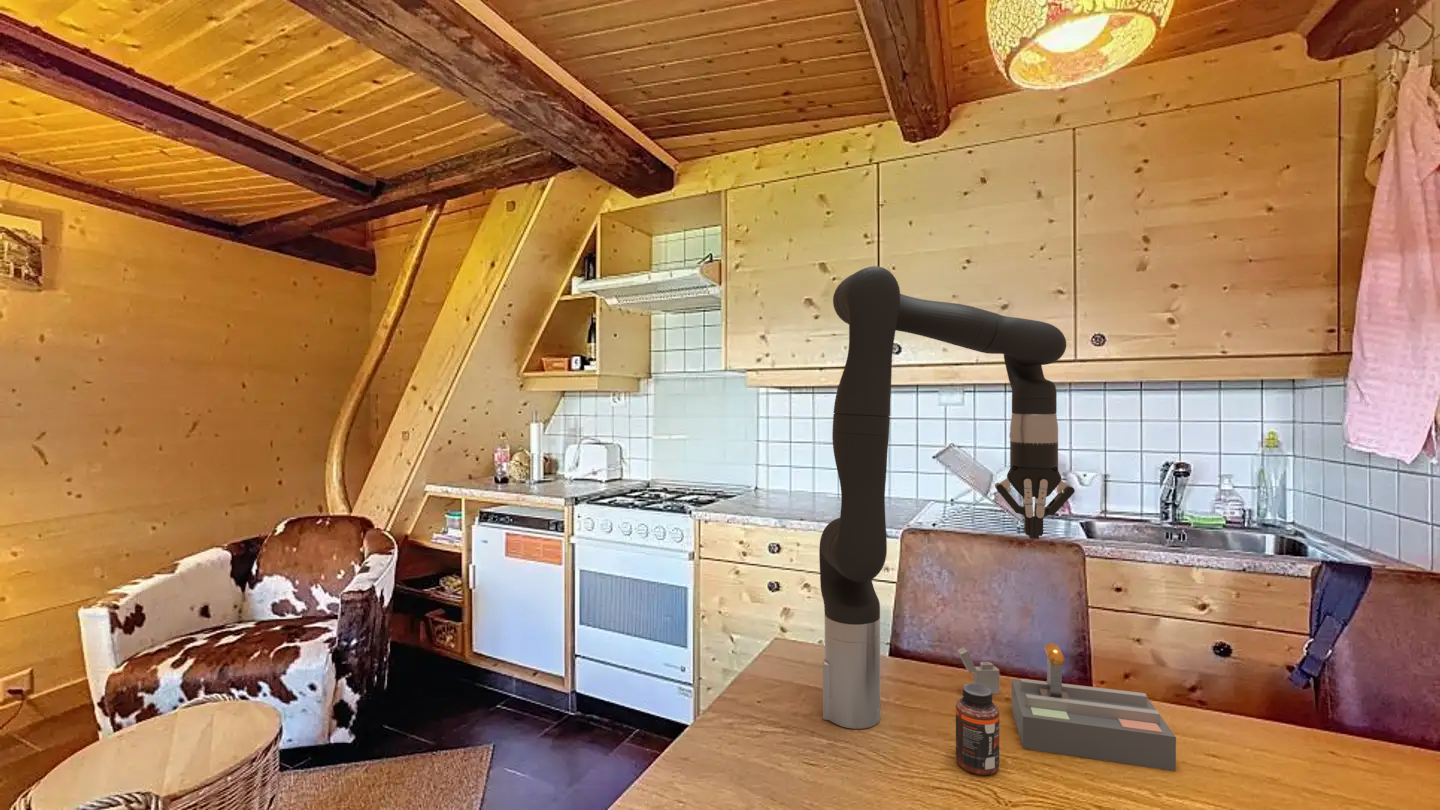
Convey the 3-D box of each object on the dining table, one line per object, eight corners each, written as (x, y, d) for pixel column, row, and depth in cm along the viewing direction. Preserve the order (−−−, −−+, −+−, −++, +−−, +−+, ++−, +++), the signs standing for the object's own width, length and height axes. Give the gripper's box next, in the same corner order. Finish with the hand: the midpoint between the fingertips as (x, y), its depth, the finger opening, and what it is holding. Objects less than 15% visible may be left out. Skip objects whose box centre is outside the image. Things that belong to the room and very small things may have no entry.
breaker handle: (1042, 704, 100) (1042, 651, 99) (1038, 692, 103) (1038, 641, 103) (1071, 707, 98) (1071, 654, 98) (1065, 695, 102) (1065, 644, 102)
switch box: (1022, 748, 96) (1022, 706, 96) (1011, 707, 109) (1011, 669, 109) (1175, 771, 90) (1176, 726, 90) (1145, 725, 103) (1145, 685, 103)
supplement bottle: (1004, 779, 89) (1003, 700, 89) (959, 775, 90) (959, 697, 90) (994, 755, 95) (994, 681, 94) (952, 751, 96) (952, 678, 96)
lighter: (995, 689, 115) (995, 646, 115) (999, 694, 114) (999, 650, 114) (956, 689, 116) (956, 646, 115) (960, 694, 114) (960, 650, 114)
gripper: (995, 440, 108) (995, 540, 109) (1081, 441, 104) (1081, 545, 105) (990, 437, 115) (990, 531, 116) (1071, 438, 111) (1071, 535, 112)
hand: (1033, 537), depth 110 cm, fingers closed
